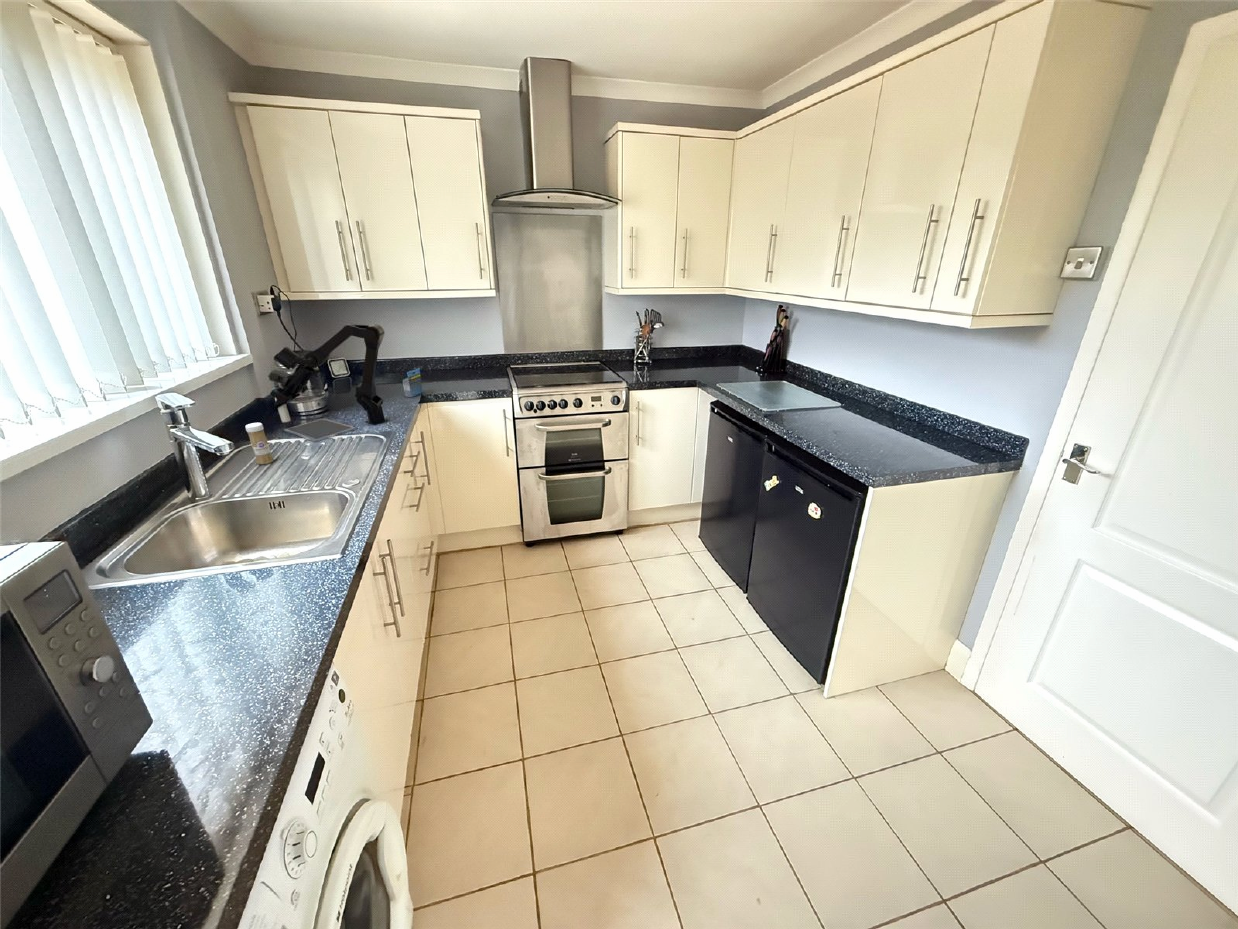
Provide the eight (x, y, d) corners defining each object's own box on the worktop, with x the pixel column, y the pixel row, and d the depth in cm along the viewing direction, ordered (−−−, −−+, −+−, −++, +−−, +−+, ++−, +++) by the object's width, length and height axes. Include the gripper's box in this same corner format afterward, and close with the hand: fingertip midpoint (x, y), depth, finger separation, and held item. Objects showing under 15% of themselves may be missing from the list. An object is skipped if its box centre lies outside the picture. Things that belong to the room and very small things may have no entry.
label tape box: (416, 392, 243) (412, 367, 238) (423, 392, 242) (419, 368, 237) (404, 397, 235) (400, 371, 230) (412, 397, 234) (407, 372, 229)
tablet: (355, 429, 194) (355, 427, 194) (315, 442, 182) (314, 439, 181) (324, 420, 204) (323, 418, 204) (283, 431, 192) (283, 429, 192)
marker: (293, 421, 197) (282, 388, 191) (284, 424, 195) (274, 389, 189) (288, 420, 199) (278, 386, 193) (280, 422, 196) (269, 388, 190)
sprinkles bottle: (262, 466, 162) (249, 427, 156) (254, 463, 164) (242, 425, 159) (276, 461, 166) (264, 423, 160) (269, 458, 168) (257, 421, 162)
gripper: (291, 358, 196) (269, 386, 199) (268, 368, 179) (244, 399, 182) (317, 376, 200) (295, 404, 203) (297, 388, 183) (274, 418, 186)
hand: (277, 405), depth 194 cm, fingers closed on marker, 3 cm apart
